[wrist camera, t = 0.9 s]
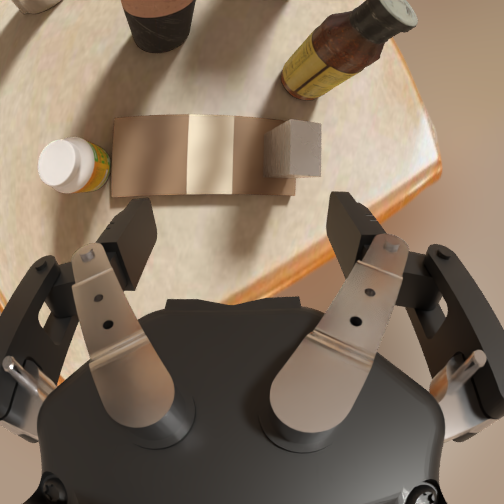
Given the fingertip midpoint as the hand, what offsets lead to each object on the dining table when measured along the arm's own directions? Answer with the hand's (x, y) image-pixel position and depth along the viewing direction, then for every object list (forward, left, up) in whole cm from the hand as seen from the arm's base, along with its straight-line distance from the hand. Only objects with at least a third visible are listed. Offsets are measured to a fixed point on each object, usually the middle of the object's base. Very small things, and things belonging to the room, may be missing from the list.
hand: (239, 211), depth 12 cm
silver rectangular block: (+8, +5, -18) cm, 20 cm away
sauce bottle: (+11, +16, -20) cm, 28 cm away
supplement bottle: (-14, +4, -20) cm, 24 cm away
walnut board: (0, +5, -19) cm, 20 cm away
